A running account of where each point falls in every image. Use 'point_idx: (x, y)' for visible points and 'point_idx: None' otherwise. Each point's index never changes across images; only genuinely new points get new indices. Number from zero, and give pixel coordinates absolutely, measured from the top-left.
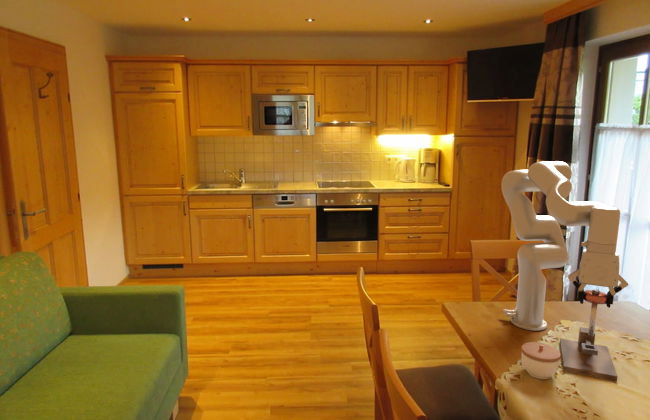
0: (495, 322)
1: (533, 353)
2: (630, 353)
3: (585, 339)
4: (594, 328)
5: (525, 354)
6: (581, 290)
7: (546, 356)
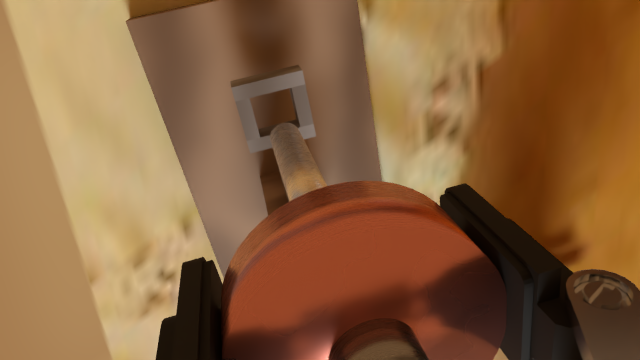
0: (594, 230)
1: None
2: (145, 300)
3: None
4: (276, 153)
5: None
6: (573, 288)
7: None
